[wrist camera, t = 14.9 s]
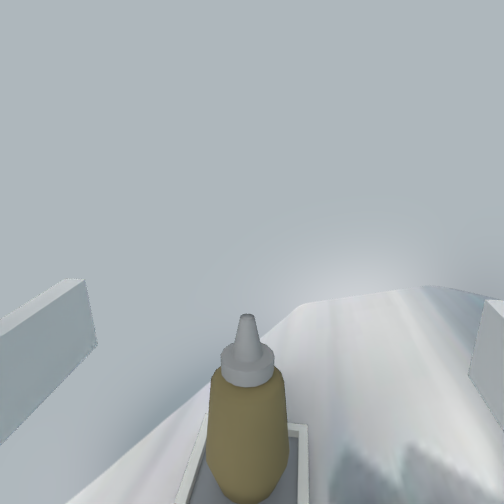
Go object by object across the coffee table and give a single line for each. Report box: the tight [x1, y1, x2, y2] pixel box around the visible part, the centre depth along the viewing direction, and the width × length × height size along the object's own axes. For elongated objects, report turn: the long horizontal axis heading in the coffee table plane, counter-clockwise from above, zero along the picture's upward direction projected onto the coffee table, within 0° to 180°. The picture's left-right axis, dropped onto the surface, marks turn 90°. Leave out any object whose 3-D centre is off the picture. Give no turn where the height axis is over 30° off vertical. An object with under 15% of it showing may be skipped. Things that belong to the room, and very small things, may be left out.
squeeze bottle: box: [206, 314, 290, 504], centre depth 32 cm, size 8×8×18 cm
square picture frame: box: [174, 414, 309, 504], centre depth 35 cm, size 12×13×2 cm
